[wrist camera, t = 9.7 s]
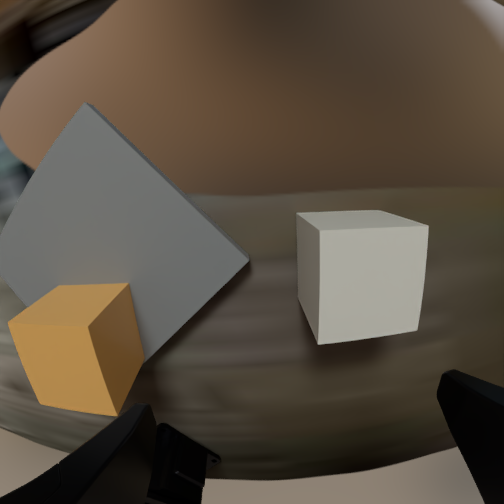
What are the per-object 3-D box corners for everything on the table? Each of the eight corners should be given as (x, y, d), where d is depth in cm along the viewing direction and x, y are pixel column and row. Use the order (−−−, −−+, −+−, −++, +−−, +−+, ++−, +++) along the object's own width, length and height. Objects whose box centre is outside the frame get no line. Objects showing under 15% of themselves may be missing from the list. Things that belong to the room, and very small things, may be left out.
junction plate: (121, 380, 21) (100, 419, 17) (-3, 256, 19) (-40, 274, 14) (248, 255, 19) (250, 280, 15) (93, 105, 17) (55, 90, 12)
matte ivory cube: (375, 290, 20) (417, 330, 14) (297, 297, 20) (318, 344, 14) (378, 210, 19) (428, 225, 13) (296, 212, 19) (319, 230, 13)
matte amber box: (144, 358, 20) (117, 416, 14) (78, 355, 20) (40, 404, 14) (128, 282, 18) (87, 326, 12) (59, 285, 18) (7, 322, 12)
